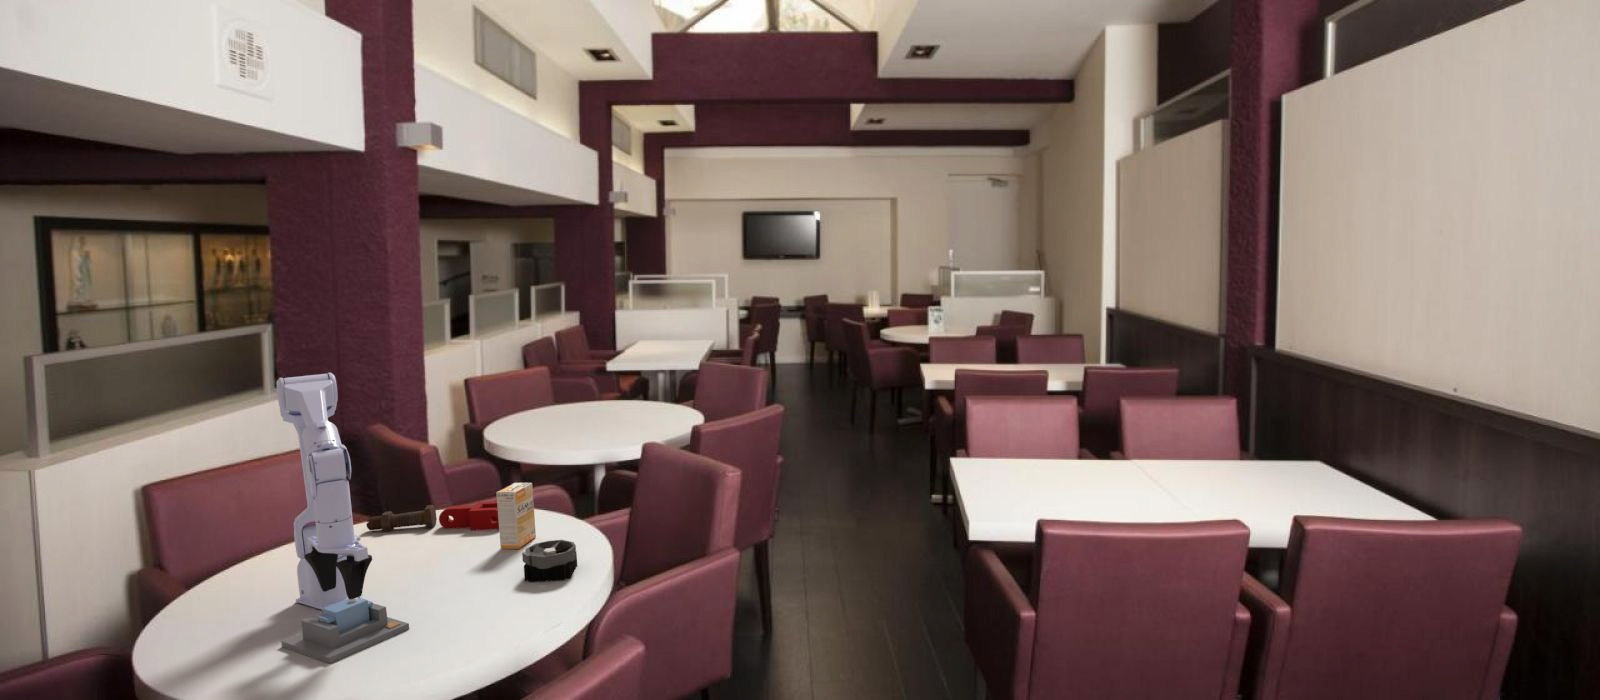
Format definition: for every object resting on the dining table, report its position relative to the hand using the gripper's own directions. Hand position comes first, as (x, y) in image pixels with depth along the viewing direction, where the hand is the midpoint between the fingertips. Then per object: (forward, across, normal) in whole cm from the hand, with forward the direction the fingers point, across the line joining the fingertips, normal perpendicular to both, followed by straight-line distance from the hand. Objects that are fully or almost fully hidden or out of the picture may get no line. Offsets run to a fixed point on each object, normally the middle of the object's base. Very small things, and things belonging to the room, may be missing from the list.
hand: (341, 593), depth 163 cm
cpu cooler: (+8, -10, -39) cm, 41 cm away
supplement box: (+8, +11, -49) cm, 51 cm away
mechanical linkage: (+9, +31, -53) cm, 62 cm away
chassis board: (+8, 0, 0) cm, 8 cm away
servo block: (+7, 0, 0) cm, 7 cm away
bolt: (+9, +46, -44) cm, 64 cm away
